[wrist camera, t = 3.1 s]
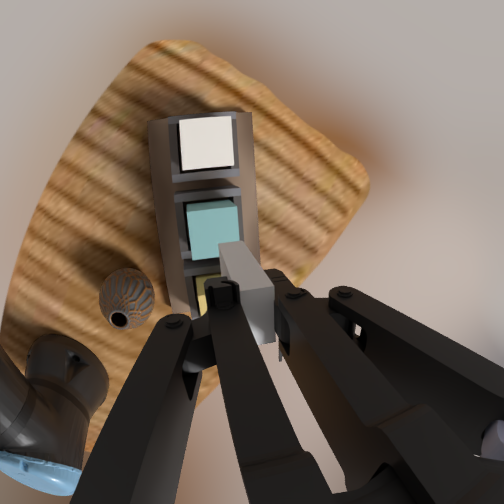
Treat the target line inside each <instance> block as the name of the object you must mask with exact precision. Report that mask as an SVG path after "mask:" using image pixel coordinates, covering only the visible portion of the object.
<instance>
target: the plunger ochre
mask: <svg viewBox="0 0 504 504" xmlns="http://www.w3.org/2000/svg"><path fill="white" fill-rule="evenodd" d="M215 277H221V273H214V274H206V275H199V276H196V284H197V293H198V300H199V306H200V312H201V316H202V315H203V314H205V313H206V311H207V304H206V297H205V290H204V282H205V281H206V279H208V278H215Z"/></svg>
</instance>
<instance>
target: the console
mask: <svg viewBox="0 0 504 504" xmlns="http://www.w3.org/2000/svg"><path fill="white" fill-rule="evenodd" d="M222 116H231V122H232V139H233V154H234V166H221V167H210V168H200V169H191V170H183V168H182V155H181V141H180V124H179V120H185V119H195V118H207V117H222ZM147 123H148V141H149V155H150V167H151V178H152V188H153V197H154V205H155V213H156V221H157V228H158V235H159V242H160V248H161V254H162V260H163V266H164V272H165V277H166V282H167V288H168V293H169V298H170V302H171V307H172V312H173V314H175V313H183V312H191V317H192V320H194V319H196V318H199V317H201V312H200V306H199V300H198V293H197V284H196V276H199V275H206V274H214V273H221V267H220V258H219V257H214V258H207V259H199V260H193V259H192V252H191V244H190V236H189V228H188V219H187V204H193V203H201V202H210V201H219V200H230V201H231V202H232V203H234V204H235V205H236V206H237V213H238V226H239V240H240V241H243V242H244V243H245V244H246V246H247V247H248V249H249V250H250V252H251V253H252V255H253V256H254V257H255V259H256V260H257V262H258V263H259V265H260V246H259V227H258V209H257V191H256V174H255V157H254V141H253V125H252V112H241V113H236V111H234V112H214V113H200V114H189V115H180V116H171V117H168V118H165V119H158V120H151V121H147ZM260 266H261V265H260Z"/></svg>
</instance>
